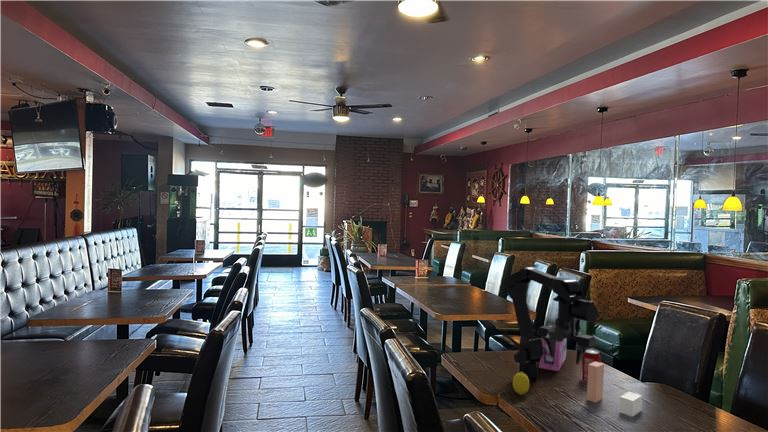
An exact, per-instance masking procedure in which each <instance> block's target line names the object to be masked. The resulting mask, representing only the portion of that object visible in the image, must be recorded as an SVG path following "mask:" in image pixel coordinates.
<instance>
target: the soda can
mask: <svg viewBox="0 0 768 432" xmlns="http://www.w3.org/2000/svg"><path fill="white" fill-rule="evenodd" d="M601 356H602V355H600V351H599V350H597V349H594V348H588V349H587V350H586V352H585V353H584V355H583V357H582V359H581V361H580V369H579V370H580V372H579V375H580V376H579V380H580V382H582V383H583V384H586V385H588V364H591V363H593V362H599V363H602V362H601V361H602V359H601V358H602V357H601Z"/></svg>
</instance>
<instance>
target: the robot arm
mask: <svg viewBox="0 0 768 432" xmlns="http://www.w3.org/2000/svg"><path fill="white" fill-rule="evenodd" d="M531 282H535V283H537V284H539V285H542V286H545V287H548V288H549V289H550V290H552V292H553V293H554V294H556V296H554V298H553V299H552V300H553V301H555V302H558V304H557V305H558V307H557V318H555V322H554V324H555V325H553V326H552V327H551V326H548V325H542V326H539V327H538V329H537V336H540V338H539V337H537V336H536V335H535V333H534V328H533V324H532V320H531V316H530V312H529V307H528V303H527V300H526V296H527V295H526V294H527V291H528V287H527V286H528V284H530V283H531ZM503 286H504V289H505V292H506V294H507V295H508V296H509V297H510V299H511V300H512V304H513V308H514V313H515V316H516V321H517V325H518V328H519V329H518V330H519V334H520V339H519V343H518V347H519V348H518V350H519V351H517V352H516V353H515V354H514V355H513V360H514V363H517V373H520V372H523V373H524V374H526V375H527V377H528V379H529V382H537V381H538V380H537V379H538V371H539V370H538V369H539V366H537V363H539V362H540V360H541V357H542V356H543V354H544V351H543V349H544V347H543V345H542V340H541V338H542V339H544V340H545V341H546V343H547V345H548V348H549V351H550V354H551V357H554V354H555V344H556V340H557V341H559V342H561V341H563V340H564V338H565V339H567V340H570V341H573V342H576V344H577V345H575V347H576V358H575V359H576V360H575V361H576V365H579V364H581V359H582V357H583V355H584V353H585V352H586V350H587V349H590V348H592V347H594V346H596V345H597V339H596V337H595V336H593V335H589V334H586V333H585V334H581V335H577V333H578V332H577V330H576V323H578V320H579V321H583V322H587V323H595V321H597V319H598V316H599V311H598V308H597V307H596V305H595V301H593V300H587V298H586V297H585V295H584V292H583V290H582V289H581V287H580V284H579V281H578V280H576V279H573V278H568V277H567V278H566V277H565V278H564V277H558V276H554V275H552V274H550V273H548V272H544V271H542V270H539V269H536V268H535V267H534V266H527V267H522V268H521V269H519V270H518V271H516V272H514V273H512V274H510V275H507V276H506V277H505V278H504V280H503Z"/></svg>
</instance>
